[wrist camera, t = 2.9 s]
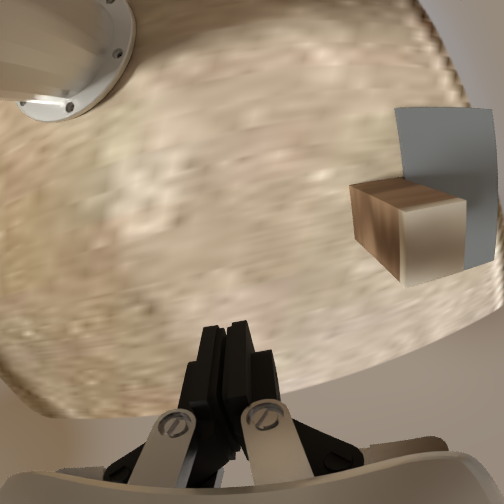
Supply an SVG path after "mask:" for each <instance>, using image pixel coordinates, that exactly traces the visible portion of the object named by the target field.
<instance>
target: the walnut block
mask: <svg viewBox="0 0 504 504" xmlns="http://www.w3.org/2000/svg"><path fill="white" fill-rule="evenodd" d="M349 189H350V196H351V205H352V214H353V223H354V234H355V239H356V240H357V241H358V242H359V243H360V244H361V245H362V246H363V247H364V248H365V249H366V250H367V251H368V252H369V253H370V254H371V255H373V256H374V257H375V258H376V259H377V260H378V261H379V262H380V263H381V264H382V265H383V266H384V267H385V268H386V269H387V270H388V271H389V272H390V273H391V274H392V275H393V276H394V277H395V278H396V279H397V280H398V281H399V282H400V283H401V284H402V285H403V286H404V287H405V288H409V287H412V286H416V285H419V284H422V283H426V282H429V281H432V280H436V279H439V278H442V277H445V276H449V275H452V274H455V273H458V272H461V271H463V268H464V257H465V242H466V200H464V199H461V198H458V197H456V196H453V195H450V194H447V193H444V192H441V191H438V190H435V189H433V188H429V187H426V186H423V185H420V184H417V183H414V182H411V181H408V180H404V179H401V178H392V179H386V180H379V181H373V182H366V183H360V184H354V185H349Z"/></svg>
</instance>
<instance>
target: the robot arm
mask: <svg viewBox="0 0 504 504" xmlns="http://www.w3.org/2000/svg"><path fill="white" fill-rule="evenodd" d="M135 37H136V21H135V18H134V14H133V11H132V9H131V8H130V6H129V4H128V3H127V1H126V0H0V100H3V101H15V103H16V104H17V106H18V107H19V109H20V110H21V111H22V112H23V113H24V114H25V115H26V116H28V117H30V118H32V119H34V120H36V121H41V122H61V121H67V120H70V119H72V118H75V117H77V116H80V115H81V114H83V113H85V112H86V111H88V110H90V109H91V108H93V107H94V106H95V105H96V104H97V103H98V102H100V101H101V100H102V99H103V98H104V97H105V96H106V95H107V94H108V93H109V92H110V90H111V89H112V88H113V87H114V86H115V84H116V83H117V81H118V80H119V78H120V77H121V76H122V74H123V72H124V70H125V68H126V66H127V64H128V62H129V60H130V57H131V54H132V51H133V48H134V43H135ZM121 54H122V56H121V57H120V58H119V56H120V55H121ZM73 107H74V109H73ZM241 447H242V449H243V451H244V454H245V456H246V458H247V460H248V461H249V462H250V467H251V471H252V476H253V481H254V485H255V486H245V487H229V488H220V486H221V483H222V478H223V474H224V468H223V466H224V465H225V464H226V463H227V462H229V460H235V456H236V452H238V451H240V449H241ZM0 504H504V497H503V495H502V493H501V491H500V490H499V488H498V486H497V485H496V483H495V481H494V480H493V478H492V477H491V475H490V474H489V473H488V471H487V470H486V469H485V468H484V466H483V465H482V464H481V463H480V462H479V461H478V460H477V459H475V458H474V457H472V456H471V455H469V454H466V453H462V452H454V451H449V450H448V446H447V444H446V443H445V441H443V440H442V439H441V438H438V437H435V436H427V437H421V438H415V439H410V440H404V441H397V442H390V443H382V444H373V445H370V448H360V449H358V448H357V447H355V446H353V445H351V444H349V443H346V442H344V441H341V440H339V439H337V438H334V437H332V436H330V435H327V434H325V433H323V432H320V431H318V430H316V429H314V428H311V427H309V426H307V425H305V424H303V423H301V422H299V421H297V420H295V419H292V418H291V415H290V412H289V410H288V408H287V406H286V405H285V404H283V403H282V402H281V399H280V392H279V384H278V378H277V372H276V367H275V362H274V358H273V353H272V350H266V351H260V352H255V350H254V346H253V342H252V338H251V334H250V331H249V327H248V323H247V321H246V320H244V321H239V322H233V323H232V326H231V327H227V336H226V332H225V329H224V328H219V326H218V325H215V326H209V327H204V328H203V331H202V336H201V341H200V346H199V351H198V356H197V361H193V362H189V363H188V365H187V369H186V373H185V378H184V382H183V386H182V391H181V395H180V400H179V404H178V409H173V410H169V411H167V412H165V413H163V414H162V415H161V416H160V417H159V418H158V419H157V420H156V422H155V423H154V426H153V428H152V430H151V432H150V434H149V436H148V439H147V441H146V442H145V443H144V444H142V445H141V446H140V447H138V448H136V449H135V450H133V451H132V452H130V453H128V454H127V455H125V456H124V457H122V458H121V459H119V460H117V461H116V462H114V463H113V464H111V465H110V466H109V467H108V468H107V469H106V468H104V467H103V466H100V467H85V468H64V469H59V470H58V471H56V472H48V471H27V472H20V473H16V474H13V475H12V476H10V477H8V478H7V479H6V480H5V482H4V483H3V485H2V486H1V488H0Z"/></svg>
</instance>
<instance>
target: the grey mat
mask: <svg viewBox="0 0 504 504" xmlns="http://www.w3.org/2000/svg"><path fill="white" fill-rule="evenodd" d="M394 109H395V114H396V120H397V127H398V133H399V140H400V147H401V155H402V164H403V174H404V180H408V181H411V182H414V183H417V184H420V185H423V186H426V187H429V188H433V189H435V190H438V191H441V192H444V193H447V194H450V195H453V196H456V197H458V198H461V199H464V200H466V242H465V257H464V268H463V271H464V270H467V269H470V268H473V267H476V266H479V265H482V264H485V263H488V262H490V261H493V260H494V254H495V244H496V231H497V213H498V173H497V171H498V170H497V152H496V139H495V130H494V121H493V115H492V109H479V108H454V107H414V108H394Z"/></svg>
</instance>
